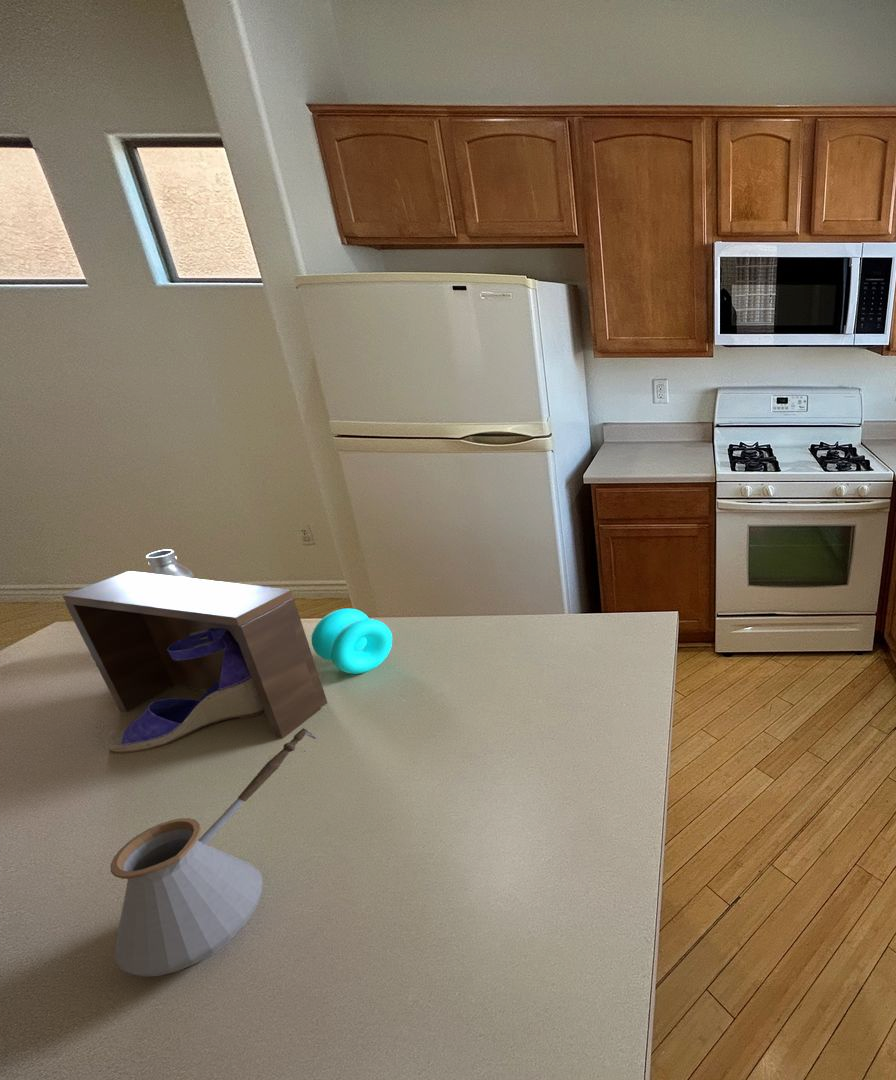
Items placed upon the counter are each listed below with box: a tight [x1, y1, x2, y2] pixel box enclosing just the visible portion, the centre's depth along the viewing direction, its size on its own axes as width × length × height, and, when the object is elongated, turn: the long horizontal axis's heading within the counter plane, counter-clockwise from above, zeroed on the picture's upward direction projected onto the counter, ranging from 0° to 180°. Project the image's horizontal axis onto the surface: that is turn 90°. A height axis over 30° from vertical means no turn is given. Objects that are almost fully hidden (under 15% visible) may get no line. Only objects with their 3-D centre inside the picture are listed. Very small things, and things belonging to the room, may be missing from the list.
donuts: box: [311, 607, 393, 675], centre depth 101 cm, size 10×10×10 cm
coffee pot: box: [110, 727, 319, 977], centre depth 60 cm, size 21×12×15 cm, turn 159°
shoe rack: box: [62, 570, 328, 739], centre depth 87 cm, size 32×9×21 cm, turn 79°
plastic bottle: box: [145, 549, 196, 579], centre depth 103 cm, size 6×7×20 cm
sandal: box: [105, 628, 265, 754], centre depth 84 cm, size 8×20×15 cm, turn 109°
